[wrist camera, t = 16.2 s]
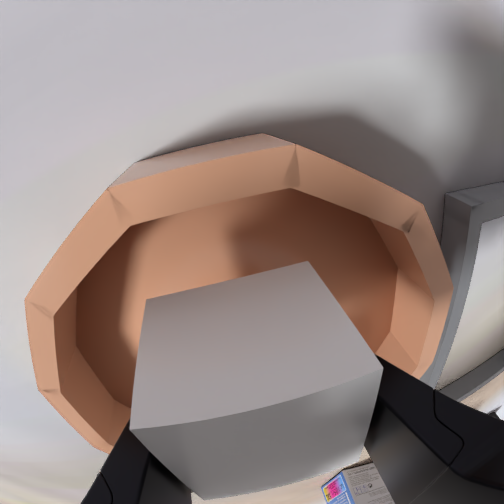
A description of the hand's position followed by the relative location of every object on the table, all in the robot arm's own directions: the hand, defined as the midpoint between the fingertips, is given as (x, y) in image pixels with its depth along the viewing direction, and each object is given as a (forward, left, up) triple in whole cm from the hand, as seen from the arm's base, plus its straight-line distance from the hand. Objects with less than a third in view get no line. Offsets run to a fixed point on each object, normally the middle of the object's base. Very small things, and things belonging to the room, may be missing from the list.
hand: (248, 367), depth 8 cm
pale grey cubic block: (0, 0, -1) cm, 1 cm away
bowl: (-3, 0, -4) cm, 5 cm away
